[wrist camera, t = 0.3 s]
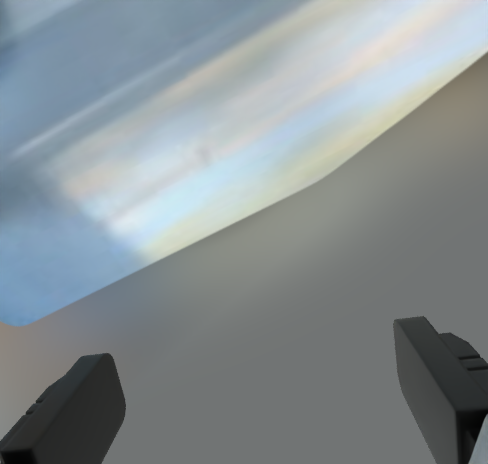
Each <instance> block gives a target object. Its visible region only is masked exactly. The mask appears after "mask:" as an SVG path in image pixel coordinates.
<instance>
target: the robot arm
mask: <svg viewBox="0 0 488 464" xmlns="http://www.w3.org/2000/svg"><path fill="white" fill-rule="evenodd" d="M393 325H394V326H393V328H394V339H395V350H396V361H397V372H398V377H399V382H400V386H401V390H402V393H403V395H404V397H405V399H406V401H407V404H408V406H409V408H410V410H411V412H412V414H413V416H414V418H415V420H416V422H417V424H418V426H419V428H420V430H421V432H422V434H423V436H424V438H425V441H426V443H427V445H428V447H429V449H430V451H431V453H432V455H433V457H434V459H435V461H436V463H437V464H488V363H486V361H485V360H484V359H483V358H481V357H480V355H479V354H478V353H477V351H476V350H475V349H474V348H473V347H472V346H471V345H470V344H469V343H468V342H467V341H464V340H463V339H461V338H459V337H457V336H455V335H453V334H452V333H442V334H438V332H437V331H436V330H435V329H434V327H433V326H432V325H431V324H430V323H429V321H428V320H427V319H426V318H425V317H424V316H422V317H412V318H405V319H396V320H394V324H393ZM125 407H126V404H125V398H124V394H123V390H122V387H121V384H120V380H119V377H118V373H117V369H116V366H115V363H114V359H113V357H112V356H111V355H110V354H109V353H103V354H95V355H87V356H82V357H80V358H79V359H78V361H77V362H76V363H75V364H74V365H73V367H72V368H71V369H70V370H69V371H68V372H67V373H66V375H64V376H63V377H62V378H60V379H59V380H57V381H56V382H55V383H53V384H52V385H51V386H49V387H48V388H47V389H46V390H45V391H44V392H43V394H42V395H41V396H40V397H39V398H38V399H37V400H36V404H33V405H32V406H31V407H30V408H29V410H27V412H26V415H23V416H22V417H21V418H20V419H19V421H18V422H17V423H16V424H15V425H14V426H13V427H12V429H11V430H10V431H9V432H8V433H7V434H6V435H5V436H4V438H3V439H2V440H1V441H0V464H101V463H102V461H103V459H104V457H105V455H106V454H107V452H108V450H109V448H110V446H111V444H112V442H113V440H114V438H115V436H116V434H117V432H118V430H119V429H120V427H121V425H122V423H123V420H124V417H125V410H126V408H125Z"/></svg>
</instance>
